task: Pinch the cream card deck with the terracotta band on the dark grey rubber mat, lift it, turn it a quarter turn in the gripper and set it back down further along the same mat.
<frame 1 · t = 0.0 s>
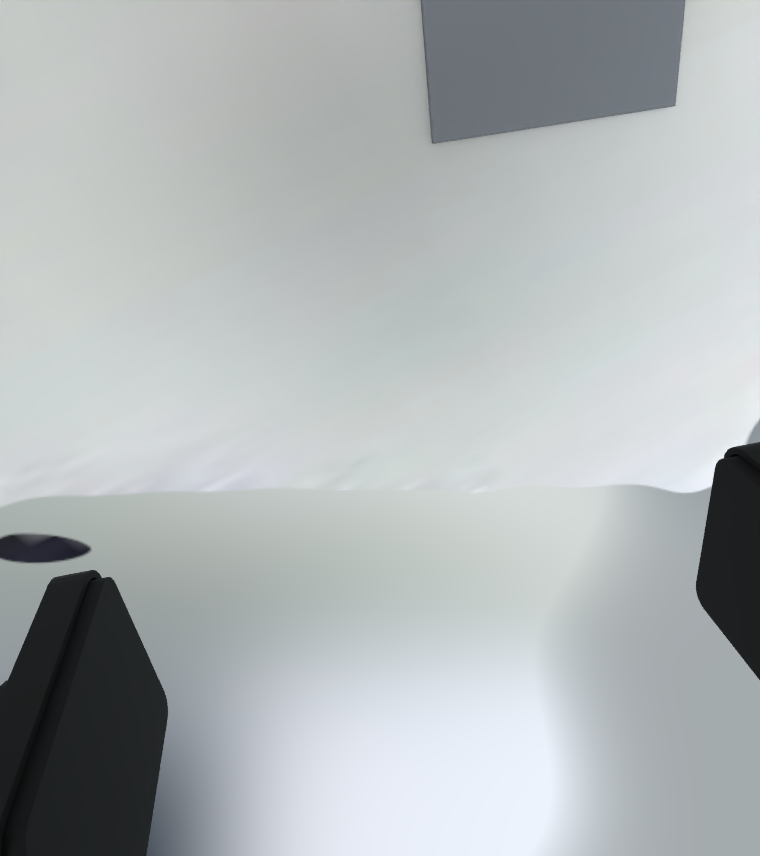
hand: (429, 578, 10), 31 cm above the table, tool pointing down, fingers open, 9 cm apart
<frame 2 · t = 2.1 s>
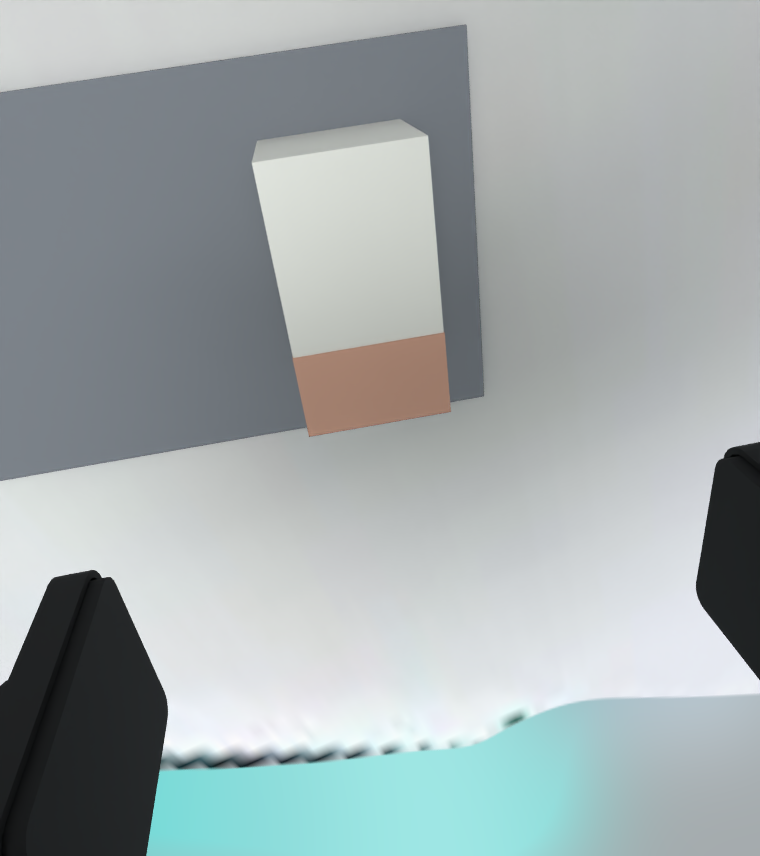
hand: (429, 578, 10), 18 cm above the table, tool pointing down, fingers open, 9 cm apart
mat: (165, 284, 25), on the table
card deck: (348, 257, 25), resting on mat
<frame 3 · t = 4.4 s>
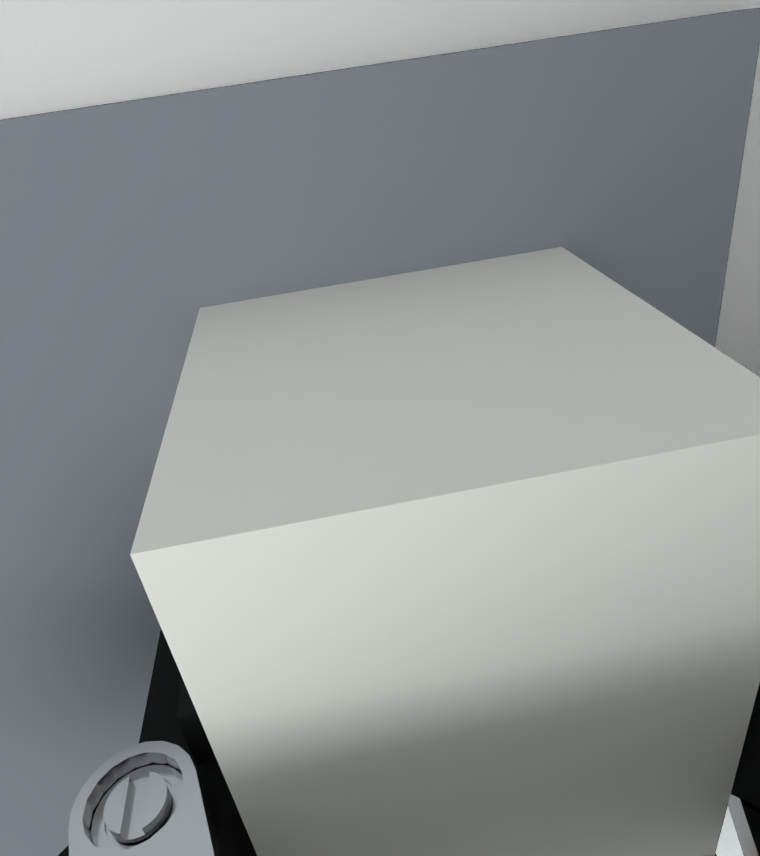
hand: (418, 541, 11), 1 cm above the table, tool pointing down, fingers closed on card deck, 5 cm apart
mat: (6, 596, 11), on the table
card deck: (416, 532, 11), resting on mat, touching gripper
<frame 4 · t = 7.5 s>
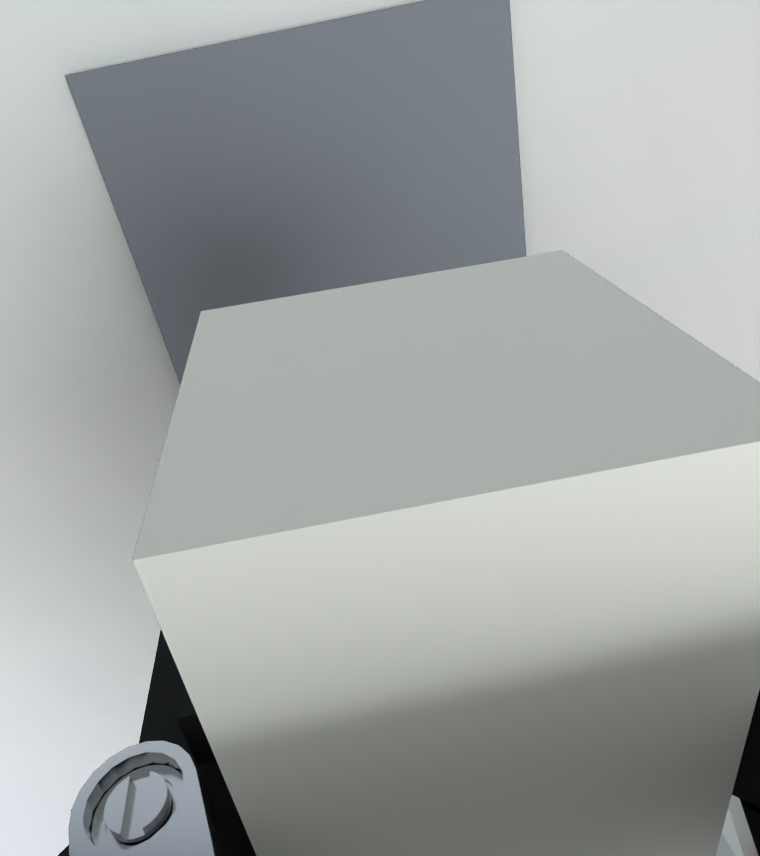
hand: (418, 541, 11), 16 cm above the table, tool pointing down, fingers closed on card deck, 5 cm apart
mat: (361, 370, 27), on the table
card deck: (416, 535, 11), point 16 cm above the table, touching gripper
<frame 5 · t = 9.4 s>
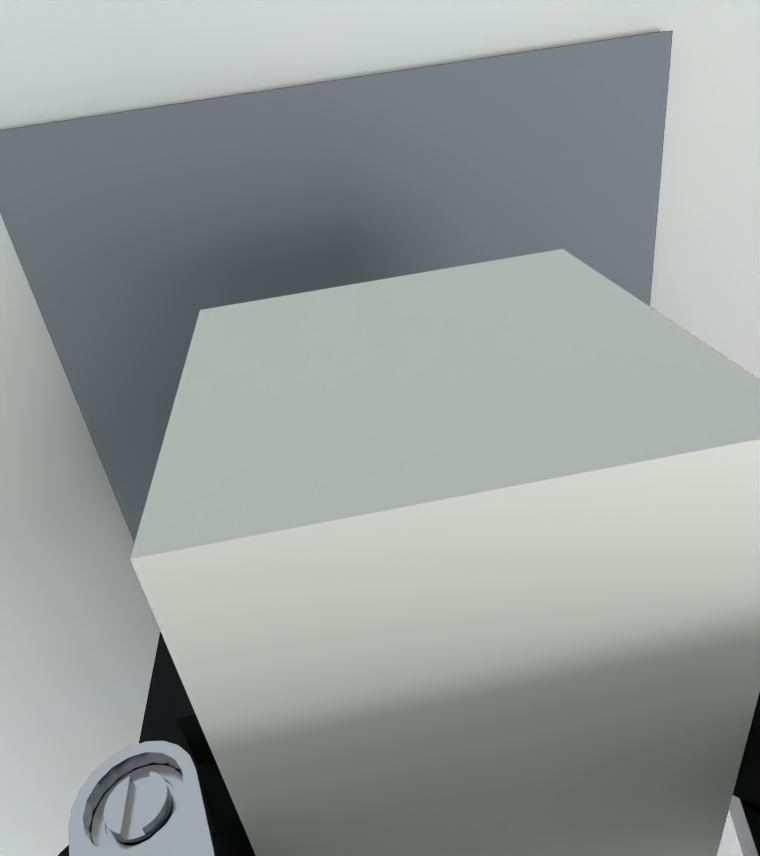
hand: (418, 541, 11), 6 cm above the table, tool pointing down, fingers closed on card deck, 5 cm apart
mat: (397, 540, 19), on the table
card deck: (416, 534, 11), point 6 cm above the table, touching gripper
when the fingers open (2 cm above the table, at t = 11.1 s): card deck stays where it is, resting on mat.
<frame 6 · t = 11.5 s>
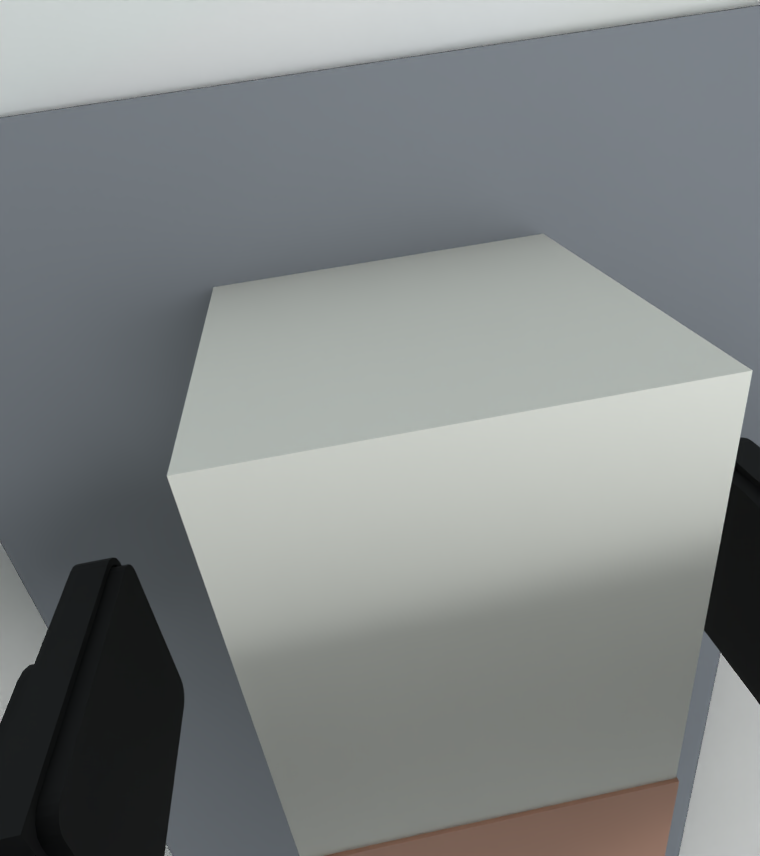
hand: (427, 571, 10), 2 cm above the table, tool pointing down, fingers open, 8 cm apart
mat: (425, 664, 15), on the table
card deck: (410, 500, 12), resting on mat
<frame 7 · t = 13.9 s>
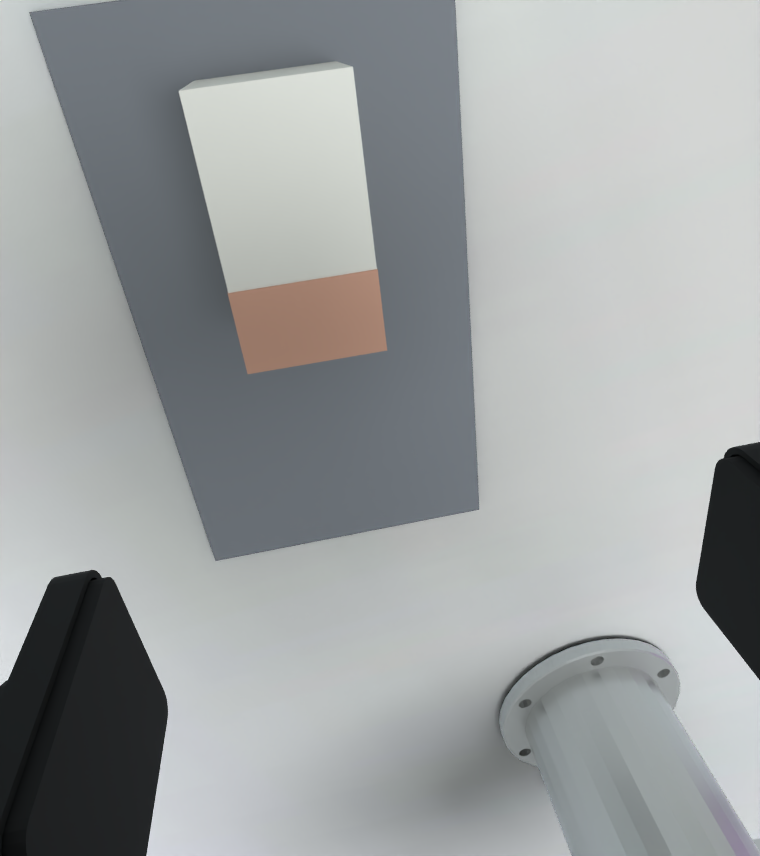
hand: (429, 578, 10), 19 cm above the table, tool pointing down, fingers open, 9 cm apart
mat: (308, 318, 28), on the table
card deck: (289, 202, 25), resting on mat
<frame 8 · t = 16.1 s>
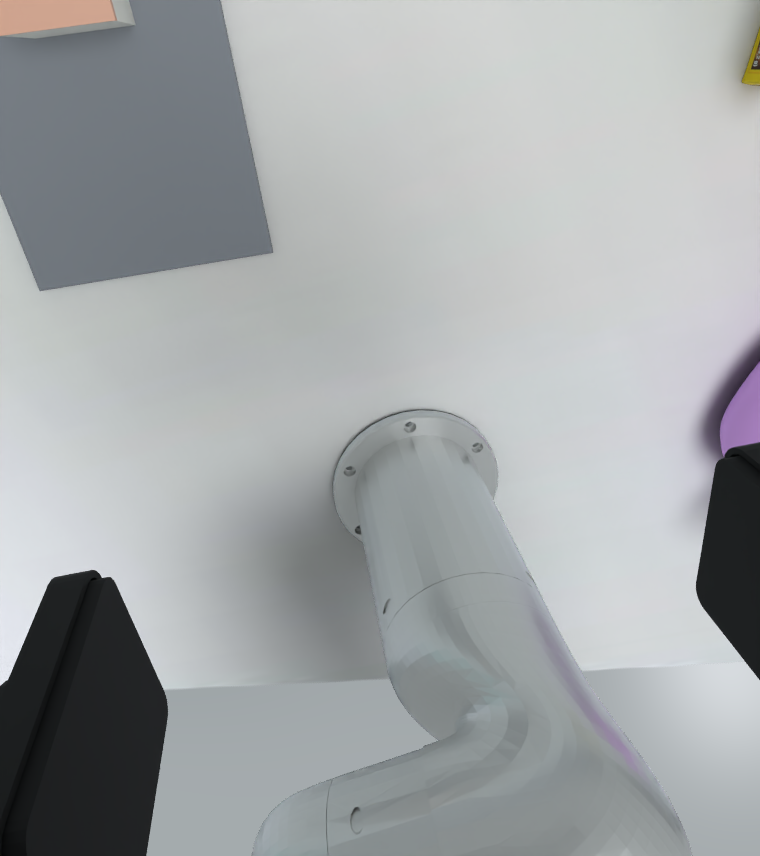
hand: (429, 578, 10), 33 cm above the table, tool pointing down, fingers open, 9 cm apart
mat: (89, 42, 34), on the table
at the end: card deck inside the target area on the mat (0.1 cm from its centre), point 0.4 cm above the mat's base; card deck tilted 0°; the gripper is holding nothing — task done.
